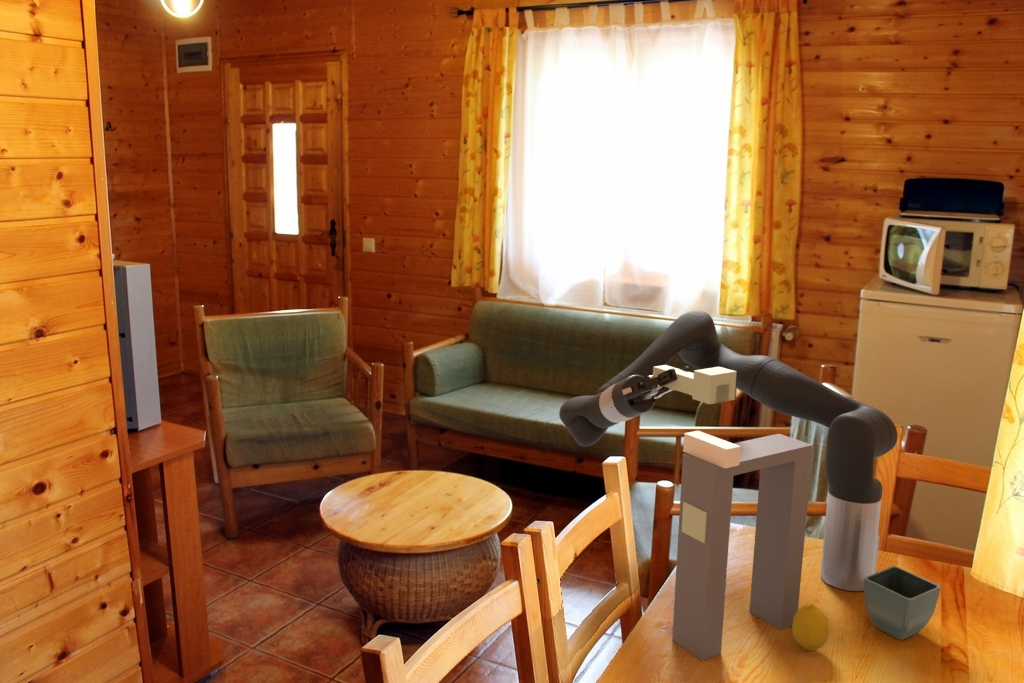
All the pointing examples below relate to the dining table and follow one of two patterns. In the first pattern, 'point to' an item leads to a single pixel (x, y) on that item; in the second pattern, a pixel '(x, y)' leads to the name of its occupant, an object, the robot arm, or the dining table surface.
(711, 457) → the cream bar
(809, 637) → the lemon
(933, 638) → the dining table surface
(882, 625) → the flower pot
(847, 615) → the dining table surface
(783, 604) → the grey arch
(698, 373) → the pale yellow block
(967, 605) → the dining table surface
